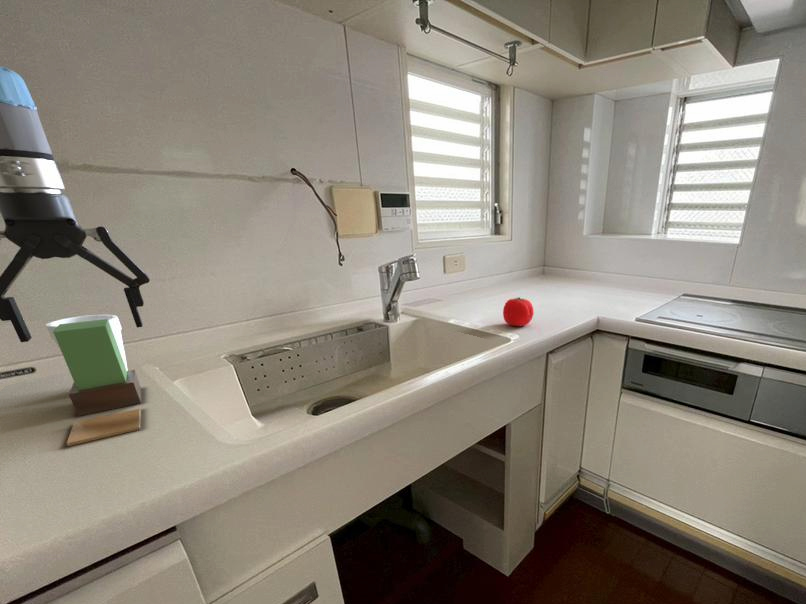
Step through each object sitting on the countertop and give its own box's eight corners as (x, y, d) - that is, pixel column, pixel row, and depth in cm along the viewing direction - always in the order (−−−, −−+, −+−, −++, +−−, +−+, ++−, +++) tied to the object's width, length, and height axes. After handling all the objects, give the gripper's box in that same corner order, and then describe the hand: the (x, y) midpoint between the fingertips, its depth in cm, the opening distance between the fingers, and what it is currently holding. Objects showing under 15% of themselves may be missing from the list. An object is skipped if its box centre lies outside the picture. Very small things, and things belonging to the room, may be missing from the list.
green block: (82, 379, 70) (59, 324, 66) (127, 372, 74) (108, 318, 70) (77, 390, 66) (53, 331, 62) (126, 382, 69) (105, 325, 66)
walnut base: (83, 400, 72) (74, 379, 70) (141, 389, 76) (134, 369, 75) (77, 416, 66) (68, 394, 65) (141, 403, 71) (133, 382, 69)
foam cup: (151, 379, 81) (129, 316, 76) (97, 398, 73) (69, 328, 68) (117, 374, 83) (94, 313, 78) (61, 392, 75) (32, 324, 70)
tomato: (506, 329, 118) (506, 301, 115) (499, 321, 127) (499, 294, 124) (536, 328, 120) (537, 300, 116) (527, 320, 129) (528, 294, 126)
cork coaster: (74, 425, 63) (73, 422, 63) (140, 411, 68) (139, 408, 68) (67, 446, 57) (66, 443, 57) (140, 429, 62) (139, 426, 62)
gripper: (-126, 187, 49) (-39, 353, 57) (140, 193, 63) (181, 324, 71) (-99, 190, 54) (-23, 341, 62) (141, 195, 69) (178, 317, 77)
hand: (86, 332), depth 67 cm, fingers open, 13 cm apart
